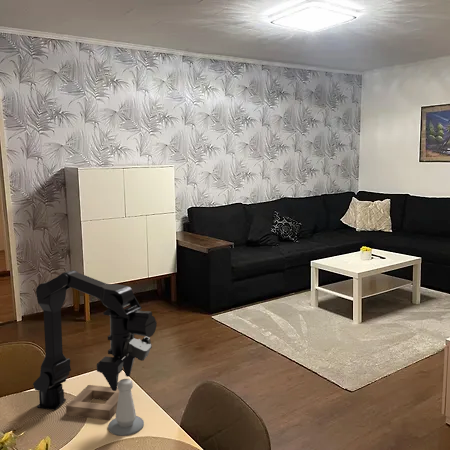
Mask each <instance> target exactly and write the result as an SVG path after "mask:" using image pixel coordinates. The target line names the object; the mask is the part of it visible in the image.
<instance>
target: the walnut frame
mask: <svg viewBox="0 0 450 450" xmlns="http://www.w3.org/2000/svg"><path fill="white" fill-rule="evenodd" d="M118 397H119V390H118V387H117V390H116V391H113V390H112V389H111V387H110V386H103V385H94V384H88V385H87V386H86V387H85V388H83V389H82V390H81V391H80V392H79V393H78V394H77V395H76V396H75V397H74V398H73V399H72V400H70V402H68V403H67V404H66V405H65V411H66V412H65V414H66V416H70V417H77V418H78V417H79V418H85V419H86V418H88V419H97V420H105V421H111V420H112V419H113V417H114V416H116V410H117V403H118ZM93 400H96V401H97V400H99V401H106V402H105V403H96V402H92V401H93Z"/></svg>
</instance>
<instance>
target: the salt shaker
mask: <svg viewBox="0 0 450 450" xmlns="http://www.w3.org/2000/svg"><path fill="white" fill-rule="evenodd" d="M133 385H134V384H133V380H131V379H130V378H122V379H120V380H118V385H117V388H118V390H119V397H118V403H117V410H116V413H115V418H116V421H117V422H118V424H119V425H120V427H125V428H127V427H129V426H132V424H133V422H134V420H135V418H136V416H137V413H136V409H135V403H134V398H133V393H132V389H133V387H134V386H133Z"/></svg>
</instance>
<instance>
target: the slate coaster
mask: <svg viewBox="0 0 450 450" xmlns="http://www.w3.org/2000/svg"><path fill="white" fill-rule="evenodd" d="M144 423H145V422H144V419H143V418H142V417H140V416H138V415H136V418H135V420H134V422H133V424H132V426H129V427H127V428H125V427H120V425H119V424H118V422H117V421H116V417H115V418H112V419H111V420H110V422H109V423H108V431H109V433H110V434H112V435H115V436H118V437H120V436H121V437H125V436H132V435H134V434H137V433H139V432H140V431H141V430H143V428H144V427H145V424H144Z"/></svg>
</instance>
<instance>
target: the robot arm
mask: <svg viewBox="0 0 450 450" xmlns="http://www.w3.org/2000/svg"><path fill="white" fill-rule="evenodd" d="M70 288H72V289H74V290H77V291H79V292H82V293H83V294H85V295H89V296H92V297H94V298H96V299H98V300H99V301H100V302H101V304H102V305H103V306H104V307H106V308H107V309H106V310H104V312H103V315H104V316H109V327H110V329H109V330H110V332H109V333H110V334H109V335H108V336H107V340H108V341H109V342H110V348H109V349H108V350H107V354H108V355H112V356H107V355H106V356H104V357H103V358H101V360H99V361H98V362H97V363H96V371H97V372H98V373H101V374H102V376H103V377H104V378H105V380H106V382H107V383H108V386H109V387H111V389H112V390H113V391H116V390H117V388H118V386H117V385H118V382H119V375H120V373H122V372H123V371H124V375H125V377H130V376H131V373H132V369H133V365H134V362H135V359H137V360H139V361H145V359H146V358H147V357H148V356H149V353H150V351H151V350H152V348H153V347H152V343H151V337H152V336H154V334H155V332H156V329H157V323H158V322H157V320H156V318H155V316H153V312H152V311H150V310H142V306H141V304H140V302H139V301H138V299H137V298H136V296H135V294H134V292H133V289H132V288H131V286H129V285H124V284H118V283H115V284H114V283H113V284H111V283H106V282H103V281H102V280H101V281H100V280H98V279H95V278H94V277H90V276H87V275H86V274H82V273H80V272H78V271H77V270H74V269H72V270H68V271H65V272H62V273H60V274H59V275H58V276H56V277H54V278H52V279H51V280H48V281H45V282H42V283H40V284H38V286H36V289H35V294H36V295H35V296H36V299H37V304H38V305H39V307H40V308H41V309H42V312H43V328H44V330H43V331H44V351H45V352H44V353H45V355H44V358H43V360H42V363H41V366H40V372H39V376H38V377H37V378H36V380H35V381H34V382H33V383H32V385H33V388H34V390H35V391H38V397H39V403H38V404H37V405H36V409H40V410H42V409H43V410H44V409H45V410H52V411H56V410H57V409H58V408H59V407H60V406H61V405H62V404H64V403H65V402H66V400H67V399H66V398H65V390H64V389H63V383H65V382H66V381H67V379H68V376H69V375H70V371H72V368H71V359H70V358H67V357H66V356H65V355H64V353H63V351H64V350H63V334H62V333H63V331H62V328H63V326H62V307H63V305H64V302H65V301H66V295H67V290H69V289H70ZM127 306H128V307H127ZM125 307H126V308H125ZM136 335H137V336H140V337H141V336H142V337H143V338H138V339H137V338H135V336H136Z"/></svg>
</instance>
